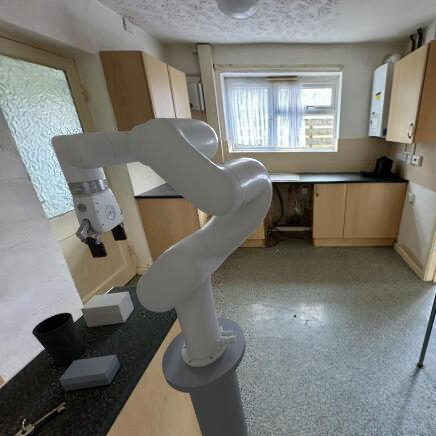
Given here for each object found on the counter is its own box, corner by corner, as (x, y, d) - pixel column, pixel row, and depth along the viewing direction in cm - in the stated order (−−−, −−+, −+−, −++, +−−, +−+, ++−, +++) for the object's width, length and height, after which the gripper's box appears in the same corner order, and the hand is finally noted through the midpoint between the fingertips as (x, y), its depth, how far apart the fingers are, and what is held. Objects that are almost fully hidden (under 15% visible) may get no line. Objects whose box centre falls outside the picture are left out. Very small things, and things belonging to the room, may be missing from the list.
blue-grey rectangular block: (120, 365, 63) (118, 360, 62) (109, 384, 58) (106, 378, 57) (79, 371, 62) (76, 365, 61) (65, 391, 57) (61, 385, 56)
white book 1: (132, 303, 82) (130, 297, 81) (122, 316, 76) (120, 310, 75) (98, 307, 81) (95, 301, 80) (85, 321, 75) (82, 315, 74)
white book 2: (134, 308, 83) (132, 302, 82) (124, 322, 77) (122, 316, 76) (100, 312, 82) (98, 307, 81) (88, 327, 76) (85, 321, 75)
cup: (91, 340, 71) (76, 308, 67) (82, 361, 64) (65, 327, 60) (58, 350, 68) (40, 318, 64) (46, 373, 61) (25, 339, 57)
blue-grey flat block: (118, 360, 62) (115, 354, 61) (106, 378, 57) (104, 373, 57) (76, 365, 61) (73, 360, 60) (61, 385, 56) (58, 379, 56)
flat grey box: (130, 297, 81) (128, 291, 81) (120, 310, 75) (118, 304, 75) (96, 301, 80) (93, 295, 79) (83, 315, 74) (80, 309, 73)
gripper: (81, 195, 51) (107, 263, 57) (123, 179, 67) (140, 233, 73) (43, 197, 50) (74, 266, 56) (95, 180, 66) (114, 235, 73)
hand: (111, 247), depth 65 cm, fingers open, 9 cm apart
